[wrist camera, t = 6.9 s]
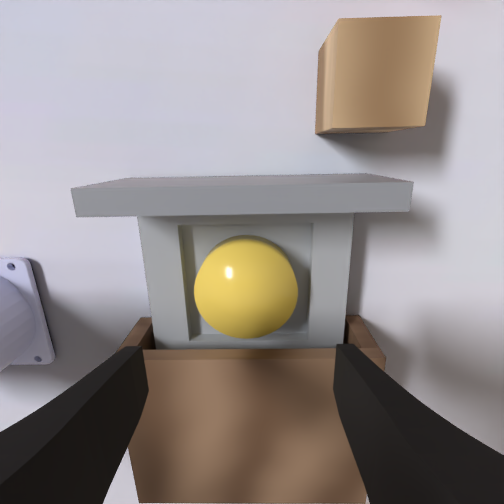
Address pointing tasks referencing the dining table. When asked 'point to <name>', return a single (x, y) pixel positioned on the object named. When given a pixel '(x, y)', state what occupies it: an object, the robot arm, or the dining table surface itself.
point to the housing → (244, 424)
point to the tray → (246, 223)
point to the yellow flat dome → (246, 287)
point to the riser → (376, 74)
